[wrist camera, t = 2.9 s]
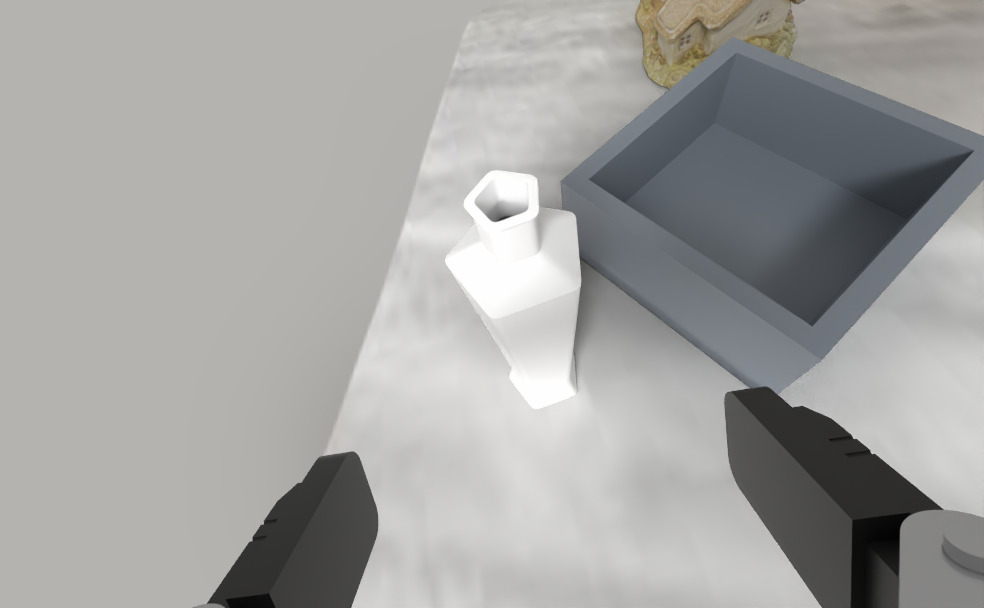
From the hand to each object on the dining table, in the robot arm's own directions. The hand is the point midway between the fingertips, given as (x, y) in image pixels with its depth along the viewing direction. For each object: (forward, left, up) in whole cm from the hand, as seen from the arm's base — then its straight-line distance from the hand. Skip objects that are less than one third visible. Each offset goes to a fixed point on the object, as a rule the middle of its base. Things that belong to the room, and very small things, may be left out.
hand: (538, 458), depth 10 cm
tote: (-18, -4, -14) cm, 23 cm away
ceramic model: (-32, -16, -15) cm, 39 cm away
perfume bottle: (-4, -6, -15) cm, 16 cm away
